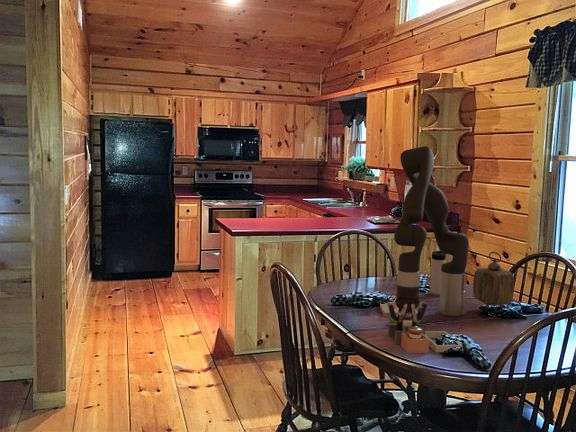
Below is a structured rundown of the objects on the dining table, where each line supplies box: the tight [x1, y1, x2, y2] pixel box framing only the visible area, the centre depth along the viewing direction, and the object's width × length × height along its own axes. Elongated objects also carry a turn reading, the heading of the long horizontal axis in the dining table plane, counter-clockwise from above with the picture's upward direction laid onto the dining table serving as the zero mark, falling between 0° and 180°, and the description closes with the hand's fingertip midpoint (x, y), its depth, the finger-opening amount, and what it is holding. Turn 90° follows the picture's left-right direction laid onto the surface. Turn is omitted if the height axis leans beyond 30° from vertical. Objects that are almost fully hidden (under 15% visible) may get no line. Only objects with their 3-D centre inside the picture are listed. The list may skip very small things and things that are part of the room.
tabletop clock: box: [472, 251, 515, 310], centre depth 222 cm, size 14×9×25 cm, turn 20°
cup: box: [400, 332, 430, 354], centre depth 178 cm, size 7×7×5 cm
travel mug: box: [429, 249, 447, 297], centre depth 247 cm, size 6×7×20 cm
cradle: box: [387, 323, 426, 346], centre depth 188 cm, size 10×11×5 cm
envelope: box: [379, 297, 418, 318], centre depth 226 cm, size 24×2×14 cm
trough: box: [425, 330, 463, 353], centre depth 183 cm, size 9×14×3 cm, turn 8°
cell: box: [402, 312, 413, 331], centre depth 186 cm, size 4×4×8 cm
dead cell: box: [409, 326, 423, 339], centre depth 178 cm, size 4×4×8 cm
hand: (406, 331), depth 186 cm, fingers closed on cell, 4 cm apart
